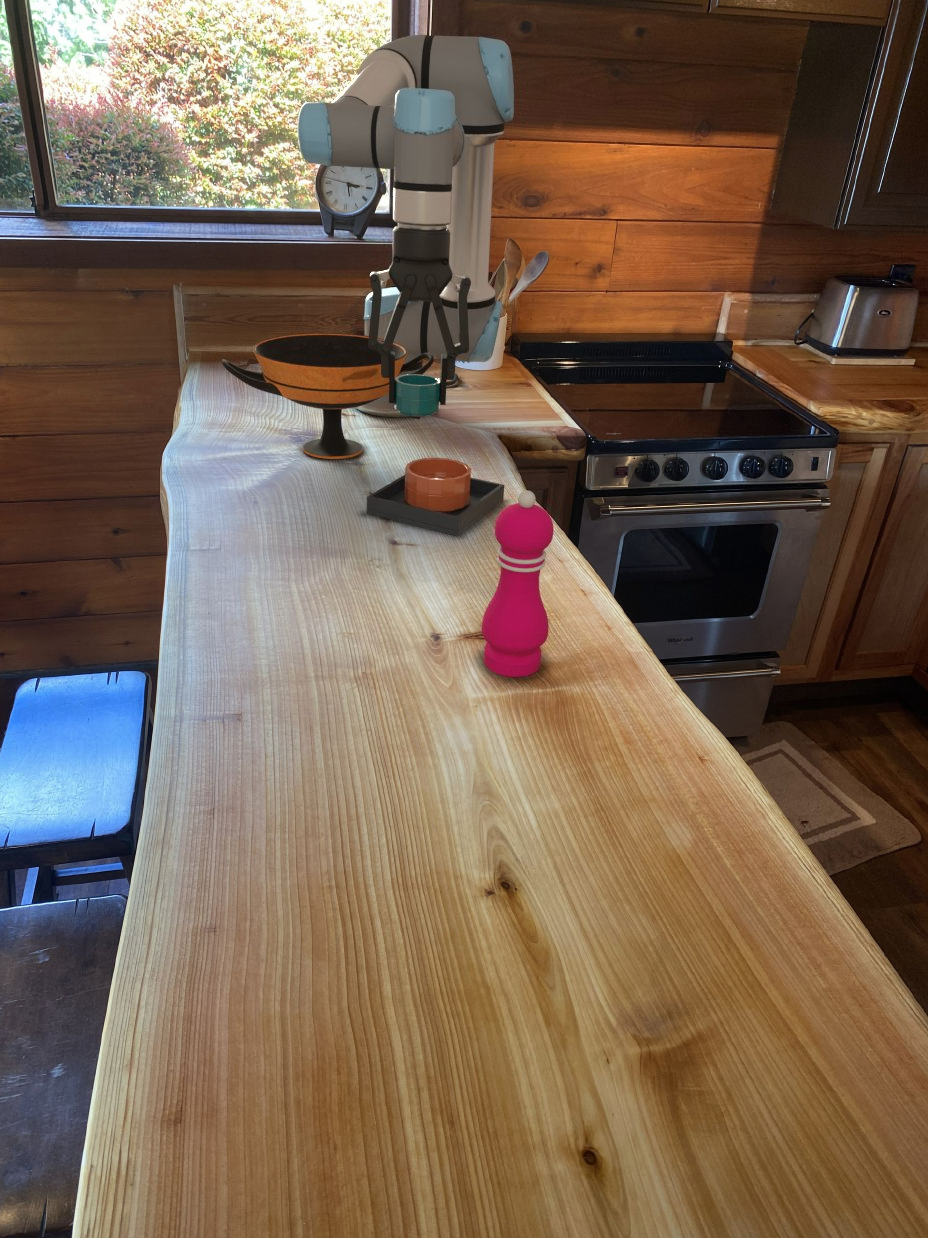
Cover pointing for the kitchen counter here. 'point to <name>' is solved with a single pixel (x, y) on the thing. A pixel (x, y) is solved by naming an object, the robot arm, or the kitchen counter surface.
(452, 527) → the tray
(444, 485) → the bowl large
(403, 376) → the bowl small
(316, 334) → the cup
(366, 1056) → the kitchen counter surface
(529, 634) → the pepper mill
